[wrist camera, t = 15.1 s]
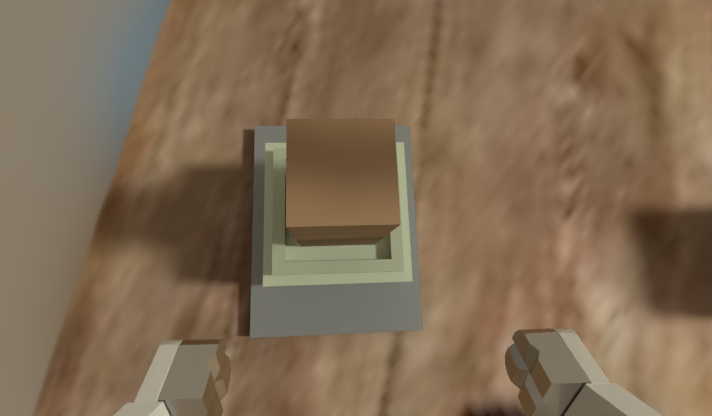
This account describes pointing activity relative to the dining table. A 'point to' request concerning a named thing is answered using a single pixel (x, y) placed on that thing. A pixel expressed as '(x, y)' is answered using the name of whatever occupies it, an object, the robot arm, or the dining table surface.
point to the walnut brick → (341, 181)
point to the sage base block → (329, 261)
